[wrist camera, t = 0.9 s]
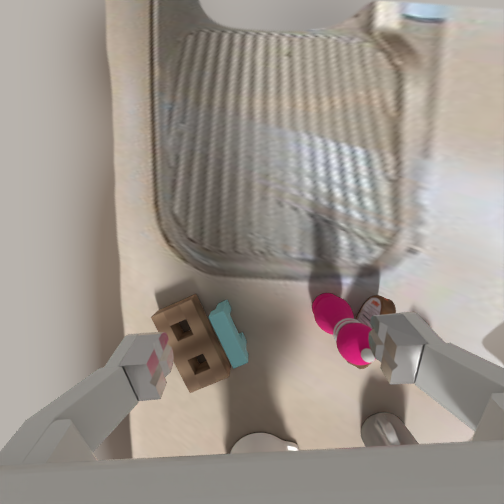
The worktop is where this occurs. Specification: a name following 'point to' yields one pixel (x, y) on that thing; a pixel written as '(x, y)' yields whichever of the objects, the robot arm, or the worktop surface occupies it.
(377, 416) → the coffee mug
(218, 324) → the clip
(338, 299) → the pepper mill
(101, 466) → the robot arm
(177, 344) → the slotted wooden block
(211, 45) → the worktop surface
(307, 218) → the worktop surface
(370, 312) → the tin
